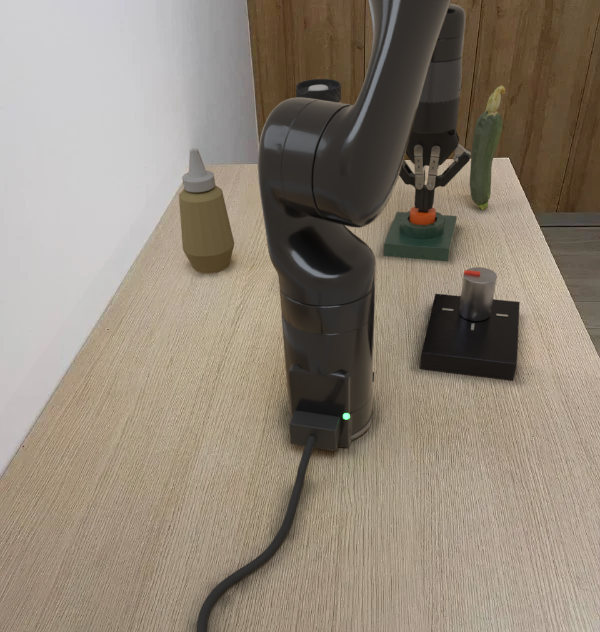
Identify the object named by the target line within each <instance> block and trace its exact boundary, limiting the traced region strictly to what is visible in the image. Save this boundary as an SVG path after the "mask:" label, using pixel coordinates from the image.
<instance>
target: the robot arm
mask: <svg viewBox="0 0 600 632" xmlns="http://www.w3.org/2000/svg"><path fill="white" fill-rule="evenodd" d="M367 2H368V6H369V13H370V19H371V25H372V27H371V28H372V41H371V50H370V56H369V60H368V64H367V69H366V73H365V75H364V80H363V83H362V85H361V88H360V91H359V93H358V96H357V99H356V100H355V102H354V104H350V103H344V102H341V103H338V102H332V101H325V100H319V99H312V98H302V97H296V96H295V97H291V98H287V99H285V100H283V101H280V103H278V104H277V105H276V106H275V107H274V108H273V109H272V110H271V111H270V112H269V114H268V117H267V118H266V120H265V122H264V125H263V128H262V130H261V135H260V139H259V143H258V144H259V145H258V151H257V153H258V154H257V177H258V179H257V180H258V187H259V195H260V202H261V210H262V215H263V222H264V229H265V236H266V242H267V244H266V245H267V250H268V255H269V259H270V262H271V264H272V266H273V268H274V269H275V271H276V273H277V277H278V286H279V301H280V310H281V311H280V312H281V326H282V340H283V353H284V364H285V378H286V390H287V392H286V393H287V400H288V414H287V415H288V422H289V423H288V425H289V427H288V428H289V437H290V444H291V445H295V446H302V447H304V449H303V451H302V454H301V458H300V461H299V464H298V468H297V471H296V476H295V481H294V485H293V488H292V492H291V495H290V499H289V501H288V506H287V510H286V513H285V515H284V518H283V521H282V523H281V526H280V528H279V529H278V531H277V533H276V535H275V536H274V538H273V539H272V541H271V542H270V543H269V545H268V546H267V547H266V548H265V550H263V551H262V552H261V553H260V554H259V555H258V556H257V557H255V558H254V559H253V560H251V561H249V562H248V563H247V564H245V565H244V566H242V567H240V568H239V569H237V570H235V571H234V572H232V573H231V574H230V575H228V576H227V577H225V578H224V579H223V580H222V581H220V582H219V583H218V584H217V585H216V586H214V588H213V589H212V590H211V591H210V592H209V594H208V595H207V596H206V598H205V600H204V601H203V603H202V605H201V607H200V610H199V612H198V616H197V622H196V632H208V622H209V617H210V614H211V611H212V608H213V607H214V605H215V603H216V602H217V601H218V599H219V598H220V597H221V595H223V593H224V592H226V590H228V589H229V588H230V587H231V586H233V585H234V584H236V583H237V582H239V581H241V580H242V579H243V578H245V577H247V576H248V575H250V574H251V573H252V572H255V570H257V569H258V568H260V567H261V566H263V564H265V563H266V562H267V561H268V560H270V558H272V556H273V555H275V553H276V552H277V551H278V550H279V548H280V547H281V545H282V544H283V542H284V540H285V539H286V537H287V535H288V533H289V531H290V529H291V527H292V524H293V521H294V519H295V515H296V511H297V508H298V504H299V501H300V497H301V493H302V490H303V486H304V484H305V483H304V482H305V479H306V473H307V471H308V465H309V462H310V459H311V457H312V454H313V451H314V448H315V449H319V450H326V451H333V452H336V451H337V449H338V447H339V448H340V447H341V448H344V449H345V448H346V449H347V448H349V447H350V445H351V443H352V441H354V440H356V439H358V438H360V437H361V436H362V435H364V434H365V433H366V432H367V431H368V430H369V429H370V427H371V425H372V422H373V417H374V415H373V412H374V411H373V383H375V372H374V345H375V343H374V342H375V311H376V288H377V287H376V286H377V283H376V282H377V260H376V256H375V254H374V251H373V250H372V248H371V247H370V246H369V244H367V243H366V242H365V241H364V240H362V239H361V238H360V237H359V236H357V235H356V233H354V232H353V231H351V229H349V228H348V227H350V228H358V229H359V228H360V229H361V228H363V227H364V228H365V227H367V226H369V225H371V224H372V223H373V222H375V221H376V220H377V219H378V218H379V217H380V215H381V214H382V213H383V211H384V209H385V208H386V206H387V205H388V202H389V201H390V198H391V197H392V195H393V192H394V190H395V188H396V185H397V182H398V179H399V177H400V179H401V181H402V182H403V183H404V184H405V185H406V186H409V185H410V186H412V187H414V207H415V208H418V212H426V213H428V210H429V209H431V208H432V207H433V206H434V203H435V195H436V194H435V193H436V189H437V188H440V187H441V188H444V187H447V185H448V184H449V183H450V182H451V181H452V180H453V178H455V177H456V175H457V174H458V173H459V172H460V171H461V170H462V169H463V168H464V167H465V166H466V165H467V164H468V163H469V162H470V161H471V155H472V150H471V149H470V148H465V147H464V146H463V145H462V144H461V143H460V137H459V135H458V130H457V128H458V119H459V109H460V100H461V92H462V91H461V90H462V86H463V84H462V83H463V82H462V78H463V53H464V51H463V50H464V41H465V40H464V39H465V31H466V20H467V19H466V11H465V9H464V8H463V7H462V6H460V5H458V4H455V3H452V0H367ZM453 152H454V154H453V156H452V160H453V161H452V162H451V164H450V165H449V166H448V167H447V168H446V169H445V170H444V171H443V172H442V174H439V173H438V172H439V168H440V166H441V165H443V164H444V163H445V162H446V161H447V159H448V158H449V157H450V156H451V155H452V153H453ZM406 156H407V157H408V159H409V161H410V162H411V163H412V164H413V165H414V172H413V170H412V169H411V167H410V165H409V164H408V163H407V161H406V160H405V157H406ZM426 167H428V173H427V179H426ZM438 174H439V175H438ZM433 208H434V207H433Z"/></svg>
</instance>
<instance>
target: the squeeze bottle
mask: <svg viewBox="0 0 600 632" xmlns="http://www.w3.org/2000/svg"><path fill="white" fill-rule="evenodd" d="M199 150H200V149H198V148H190V150H189V159H188V160H189V163H188V172H186V173H184V174H183V175H182V176H181V180H182V186H183V188H182V190H181V192H179V193H178V202H179V204H178V205H179V216H180V230H181V243H182V251H183V253H184V255H185V256H186V258H187V260H188V261H189V263H190V265H191V266H192V269H194V270H195V271H196V272H197V273H201V274H214V273H219V272H222V271H224V270H226V269H227V268H228V267H229V266H230V264H231V261H232V256H233V251H234V247H235V241H234V236H233V231H232V226H231V223H230V218H229V214H228V210H227V205H226V202H225V201H226V200H225V196H224V193H223V189H222V188H220V187H219V186H218V185H216V180H215V179H216V178H215V174H214V172H212V171H211V170H207V169H206V167H205V164H204V162H203V158H202V156H201V153H200V151H199Z"/></svg>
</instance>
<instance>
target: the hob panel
mask: <svg viewBox="0 0 600 632" xmlns="http://www.w3.org/2000/svg"><path fill="white" fill-rule="evenodd" d="M460 298H461V295H453V294H443V293H434V297H433V301H432V304H431V305H432V306H431V309H430V314H429V318H428V323H427V325H426V326H427V327H426V331H425V334H424V338H423V344H422V347H421V352H420V361H419V362H420V363H419V369H420V370H424V371H425V370H427V371H435V372H442V373H450V374H458V375H464V376H465V375H466V376H473V377H481V378H490V379H497V380H504V381H512V382H513V381H514V380H515V375H516V370H517V367H518V352H519V351H518V350H519V349H518V348H519V347H518V346H519V329H520V328H519V325H520V307H521V306H520V304H521V303H520V301H516V300H515V301H514V300H504V299H494V298H493V304H492V310H491V315H490V317H489V318H487V319H486V320H482V321H471V320H467V319H465V318H463V317H462V316H461V315H460V314H459V306H460Z"/></svg>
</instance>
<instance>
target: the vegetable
mask: <svg viewBox="0 0 600 632" xmlns="http://www.w3.org/2000/svg"><path fill="white" fill-rule="evenodd" d="M506 91H507V90H506V88H505V86H504V85H503V84H501V85H499V86H497V88H496V89H494V90H493V92H491V94H490V95H489V97H488V100H487V103H486V107H485V110H484V111H483V112H482V113H481V114H480V115H479V116H478V117H477V120H476V122H475V125H474V129H473V130H474V131H473V137H472V145H471V157H470V169H469V171H470V172H469V191H470V198H471V201H472V202H473V203H474V204H475V206H477V207H478V208H479V209H480V210H482V211H485V209H487V208H488V206H489V201H490V199H491V196H492V195H491V194H492V193H491V192H492V191H491V189H492V167H493V161H494V158H495V154H496V151H497V149H498V146H499V142H500V140H501V136H502V132H503V127H504V126H503V124H504V122H503V121H504V120H503V117H502V115H501V114H500V113H499V111H497V110H498V109H499V107H500V104H501V100H502V95H505V94H506Z"/></svg>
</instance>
